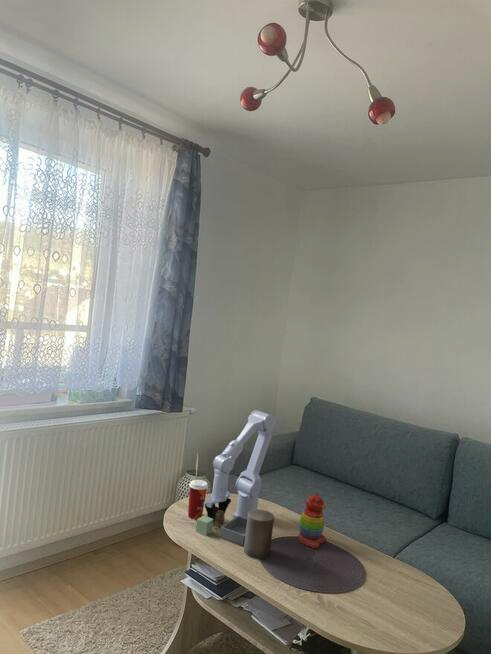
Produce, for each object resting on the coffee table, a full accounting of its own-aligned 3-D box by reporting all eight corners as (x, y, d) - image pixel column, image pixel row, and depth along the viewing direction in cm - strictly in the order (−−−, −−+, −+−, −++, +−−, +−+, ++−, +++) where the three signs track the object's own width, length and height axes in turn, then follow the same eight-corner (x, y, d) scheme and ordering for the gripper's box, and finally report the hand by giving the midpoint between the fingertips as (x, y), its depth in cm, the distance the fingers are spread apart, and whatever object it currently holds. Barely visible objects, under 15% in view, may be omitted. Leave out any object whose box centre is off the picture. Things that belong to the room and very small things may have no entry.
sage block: (202, 527, 187) (203, 515, 187) (212, 531, 185) (213, 518, 185) (195, 531, 183) (197, 519, 183) (205, 535, 181) (207, 522, 181)
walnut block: (213, 520, 195) (215, 508, 194) (223, 524, 193) (224, 511, 192) (207, 524, 191) (209, 512, 191) (217, 528, 189) (219, 515, 188)
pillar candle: (275, 555, 173) (280, 514, 173) (254, 561, 167) (259, 519, 167) (258, 543, 181) (262, 503, 180) (237, 548, 175) (242, 508, 174)
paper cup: (203, 521, 192) (207, 487, 192) (184, 519, 193) (188, 484, 192) (205, 513, 200) (209, 480, 200) (187, 510, 200) (190, 477, 200)
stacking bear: (316, 550, 180) (322, 504, 179) (292, 540, 186) (298, 495, 185) (328, 540, 189) (333, 496, 188) (305, 531, 195) (310, 488, 194)
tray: (237, 525, 193) (238, 515, 193) (259, 533, 188) (260, 523, 188) (219, 537, 181) (220, 527, 181) (242, 546, 176) (243, 536, 176)
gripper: (221, 478, 199) (217, 510, 200) (201, 488, 186) (197, 522, 187) (235, 483, 196) (231, 515, 196) (217, 493, 183) (212, 528, 184)
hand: (216, 519), depth 192 cm, fingers open, 7 cm apart
